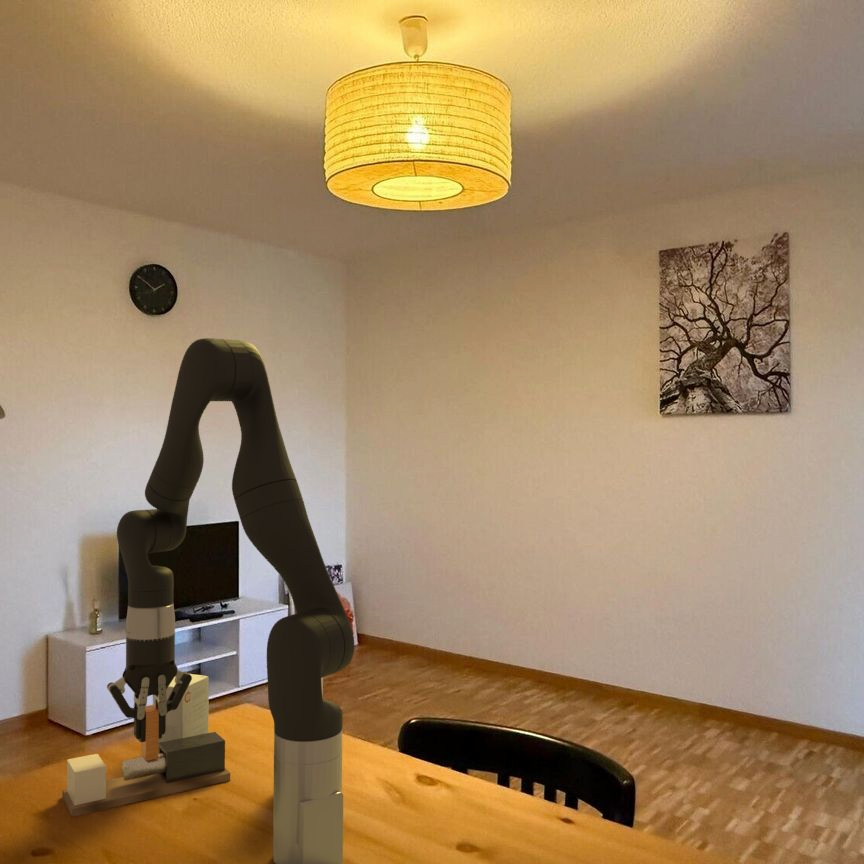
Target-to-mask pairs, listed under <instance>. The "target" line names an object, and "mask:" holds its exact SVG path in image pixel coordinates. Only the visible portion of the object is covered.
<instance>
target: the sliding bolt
mask: <svg viewBox="0 0 864 864" xmlns="http://www.w3.org/2000/svg"><path fill="white" fill-rule="evenodd" d="M144 718H145V742H140V756H141V757H137V758H131V759H127V760H122V763H121V777H123V780H124V781H127V780H131V779H136V778H141V777H145V776H150V775H154V774H159V773H164V772H166V754H165V753H160V754H158V747H159V709H158V708H157V707H156V706H155V705H154V704H147V705H146V707H145V717H144Z"/></svg>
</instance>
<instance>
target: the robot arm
mask: <svg viewBox="0 0 864 864" xmlns="http://www.w3.org/2000/svg"><path fill="white" fill-rule="evenodd" d="M270 385H271V384H270V381H269V377H268V372H267V368H266V365H265V362H264V359H263V357H262V355H261V353H260V352H259V350H258V348H257V347H256V346H255V345H253V343H251V342H249V341H248V342H247V341H245V340H240V339H239V340H238V339H225V338H210V337H209V338H207V337H206V338H199V339H196V340H195V341H193V342H191V344H190V345H189V346H188V348H187V349H186V351H185V353H184V354H183V358H182V361H181V363H180V366H179V371H178V374H177V379H176V383H175V388H174V392H173V397H172V401H171V406H170V411H169V416H168V420H167V425H166V426H167V427H166V430H165V435H164V439H163V443H162V445H161V449H160V450H159V454H158V457H157V459H156V461H155V464H154V466H153V469H152V471H151V473H150V475H149V478H148V481H147V483H146V486H145V489H144V497H145V500H146V501H147V503H148V504H149V505H150V506H151V507H153V508H154V509H153V508H152V509H136V510H129V511H127V512H125V514H123V515H122V517H121V518H120V519H119V522H118V523H117V527H116V539H117V544H118V547H119V549H120V554H121V556H122V561H123V565H124V569H125V572H126V577H127V583H128V586H127V591H128V592H127V595H128V596H127V600H128V601H127V614H126V621H125V622H126V625H125V628H124V629H125V630H124V631H125V637H126V638H125V669H124V670H123V672H122V677H120V678H119V679H118V680H116V681H115V682H109V683H108V684H107V685H106V688H107V690H108V691H109V693H110V695H111V696H112V699H113V700H114V701H115V703H116V704H117V706H118V708H119V709H120V711H121V713H122V714H123V715H124V716H125V717H126V718H128V719H129V718H131V719H133V736H134V737H135V738H136V740H138V742H139V743H141V742H145V718H144V717H145V707H146V706H147V705H148V704H147V703H148V697H150V696H153V700H154V699H155V706H156V707H157V708H158V709H159V739H161V738H162V735H163V734H165V731H166V714H167V713H168V712H169V711H171V710H176V709H177V707H178V705H179V704H180V702H181V700H182V698H183V696H184V694H185V692H186V690H187V688H188V686H189V684H190V682H191V680H192V676H191V675H190V674H191V673H188V672H187V671H182V670H179V669H178V666H177V665H176V661H175V659H176V658H175V657H176V653H175V652H176V615H175V607H174V605H175V604H174V589H175V588H174V586H175V584H174V583H175V581H174V580H175V579H174V573H173V571H172V570H171V569H170V568H168V567H166V566H159V565H153V564H151V562H150V560H149V557H148V554H153V553H162V552H163V553H164V552H168V551H173V550H175V549H177V548H178V547H179V546H180V545H181V544H182V542H183V541H184V540H185V537H186V533H187V527H188V526H187V524H188V514H189V508H190V507H189V505H190V500H191V498H192V496H193V493H194V491H195V489H196V487H197V484H198V482H199V480H200V478H201V474H202V472H203V468H204V462H205V461H204V459H205V458H204V451H203V450H204V449H203V444H202V441H201V437H200V428H199V427H200V421H201V419H202V416H203V414H204V411H206V408H207V407H208V405H209V404H210V403H211V402H231V403H232V405H233V407H234V410H235V411H236V415H237V418H238V419H237V420H238V422H239V424H238V425H239V427H240V434H241V435H240V437H241V439H240V446H239V451H238V454H237V458H236V461H235V464H234V468H233V474H232V479H231V491H232V495H233V500H234V504H235V508H236V510H237V514H238V516H239V519H240V523H241V526H242V529H243V531H244V533H245V535H246V537H247V538H248V539H249V541H250V543H251V544H252V545H253V546H254V548H256V550H257V551H258V552H259V553H260V555H262V558H264V559H265V560H266V561H267V562H268V563H269V564H270V565H271V567H273V568H274V570H275V571H276V572H277V573H278V574H279V576H280V577H281V579H282V580H283V581H284V583H285V585H286V588H287V589H288V591H289V594H290V596H291V599H292V601H293V605H294V607H295V612H296V613H293V614H289V615H287V616H284V617H282V618H279V620H277V621H276V622H274V624H273V626H272V627H271V629H270V631H269V635H268V639H267V642H266V643H267V645H266V673H267V674H266V675H267V700H268V706H269V710H270V714H271V717H272V719H273V726H274V727H273V729H274V730H273V806H272V807H273V812H272V813H273V815H272V816H273V817H272V820H273V825H272V830H273V833H272V834H273V839H272V840H273V843H272V844H273V846H272V847H273V851H272V853H273V858H272V859H273V863H274V864H343V863H344V794H343V720H344V719H343V710H342V709H341V707H340V706H339V705H338V703H335V702H333V701H331V700H326V699H323V698H324V697H322V683H321V678H323V679H324V678H325V677H328V676H330V675H334V674H336V673H338V672H340V671H342V670H344V669H345V668H347V666H348V665H350V664H351V661H352V660H353V656H354V653H355V637H354V636H355V635H354V631H353V628H352V625H351V622H350V619H349V617H348V615H347V612H346V610H345V607H344V605H343V603H342V601H341V599H340V597H339V594H338V592H337V589H336V588H335V585H334V583H333V581H332V579H331V577H330V573H329V571H328V569H327V567H326V565H325V562H324V559H323V556H322V553H321V550H320V547H319V545H318V541H317V539H316V537H315V534H314V531H313V529H312V525H311V523H310V519H309V516H308V513H307V512H308V511H307V509H306V505H305V503H304V502H305V501H304V498H303V496H302V492H301V490H300V487H299V486H300V485H299V483H298V481H297V477H296V475H295V473H294V470H293V467H292V464H291V461H290V459H289V458H290V457H289V456H288V455H289V454H288V451H287V449H286V445H285V442H284V438H283V435H282V431H281V428H280V426H279V425H280V424H279V422H278V418H277V413H276V409H275V404H274V399H273V395H272V389H271V386H270ZM174 677H175V683H176V684H175V686H174V688H173V690H172V692H171V694H170V696H169V698H168V700H167V695H166V689H167V688H168V686H169V685H170V683H171V682H172V680H173V679H174ZM126 685H127V686H128V687H129V688H130V690H131V691H132V692H133V707H131V706H130V705H129V703H128V702H127V700H126V698H125V697H124V695H123V694H124V693H125V692H126V688H125V686H126Z"/></svg>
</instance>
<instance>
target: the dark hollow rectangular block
mask: <svg viewBox="0 0 864 864" xmlns="http://www.w3.org/2000/svg"><path fill="white" fill-rule="evenodd" d="M160 753H165V754H166V772H164V773H159V774H160V776H161V777H162V778H163V779H164V781H165V782H166V783H171V782H176V781H180V780H185V779H189V778H194V777H198V776H203V775H207V774H212V773H216V772H221V771H225V768H226V740H225V739H224V738H222V736H221V735H219V734H218V733H217V732H216V731H212V732H209V733H206V734H201V735H196V736H191V737H186V738H181V739H175V740H170V741H165V742H160V743H159V753H158V754H160Z"/></svg>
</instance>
